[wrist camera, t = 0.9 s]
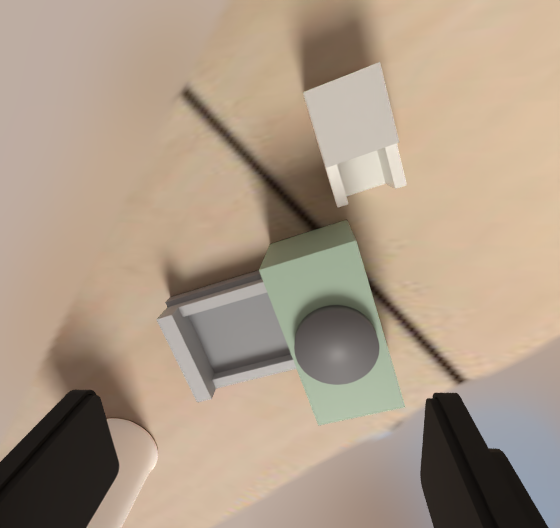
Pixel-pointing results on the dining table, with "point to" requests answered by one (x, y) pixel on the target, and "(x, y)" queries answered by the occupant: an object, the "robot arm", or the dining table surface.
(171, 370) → the dining table surface
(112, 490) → the mug
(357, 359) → the toy coffee machine
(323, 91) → the white box on legs
